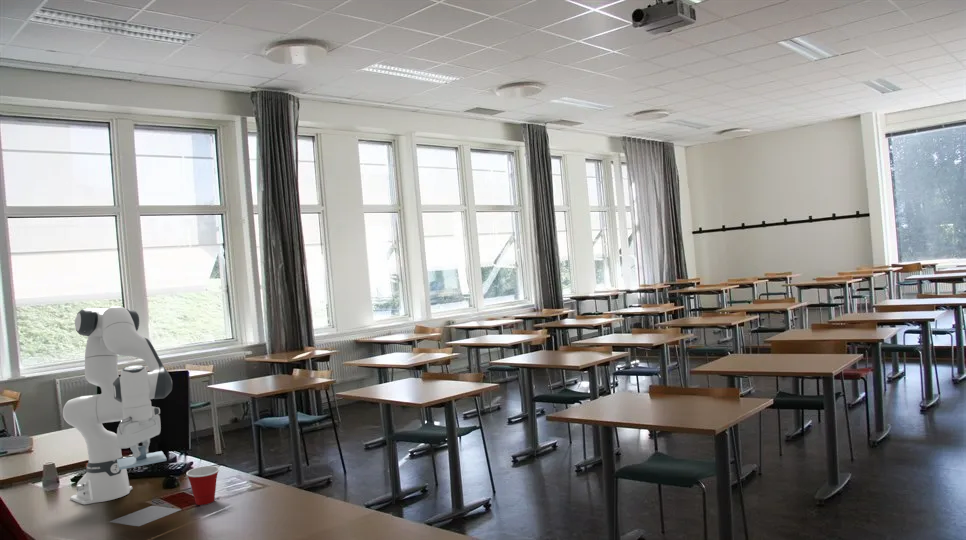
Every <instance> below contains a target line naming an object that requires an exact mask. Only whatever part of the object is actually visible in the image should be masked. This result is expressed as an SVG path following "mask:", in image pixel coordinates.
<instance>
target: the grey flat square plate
mask: <svg viewBox="0 0 966 540" xmlns="http://www.w3.org/2000/svg"><path fill="white" fill-rule="evenodd" d="M179 511H182V509H181V508H174V507H165V506H157V505H151V506H147V507H145V508H141V509H139V510H136V511H134V512H132V513H128V514H126V515H123V516H121V517H117V518H115V519H112V520H110V521H108V523H114V524H119V525H127V526H132V527H137V528H138V527H141V526H144V525H146V524H149V523H152V522H155V521H156V520H159V519H161V518H164V517H167V516H170V515H172V514H175V513H176V512H179Z"/></svg>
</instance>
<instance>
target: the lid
mask: <svg viewBox="0 0 966 540" xmlns="http://www.w3.org/2000/svg"><path fill="white" fill-rule="evenodd" d="M138 450H139V451H141V456H139V457H137V458H134V457H133V455H132V456H129V457H123V458H122V459H117V463H118V467H119V470H122V469H126V470H128V469H131V468H137V467H141V466H147V465H151V464H152V465H153V464H156V463H162V462H167V457H166V455H165V454H164V452H163V451H162V450H160V451H155V452H148V453H146V446H143V445H138Z"/></svg>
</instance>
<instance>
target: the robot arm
mask: <svg viewBox="0 0 966 540" xmlns="http://www.w3.org/2000/svg"><path fill="white" fill-rule="evenodd" d="M74 327H75V330H76V332H77V333H78V334H79V335H81V336H83V337H84V336H85V337H87V340H86V345H85V350H84V351H85V352H84V378H85V380H86V382H88V383H89V384H91V385H94V386H95V387H99V388H100V391H101V393H100V394H99V393H98V394H91V395H81V396H77V397H74V398H72V399H69V400H67V401H66V402H65V404H64V406H63V408H62V417H63V419H64V421H65V422H66V423H67V424H68V425H69V426H72V427H73V428H74V429H76V430H77V431H78V432H79V434H80V435H81V436H82V437H83V439H84V441H85V444H86V450H87V458H88V462H87V463H85V467H86V473H84V474H83V476H82V477H81V478H80V479H79V480H78V481H77V483H76V487H75V488H76V489H75V490H76V494H73V495H71V496H70V501H73V502H76V503H78V504H82V505H90V504H95V503H101V502H103V503H104V502H107V501H108V502H109V501H112V500H115V499H118V498H122V497H124V496H126V495H129V494H130V492H131V491H132V490H133V486H132V485H130V481H129V476H128V471H127V470H128V469H122V470H119V467H118V463H117V459H122V458H124V456H123V455H122V449H129V448H130V450H131V452H132V456H133V457H134V458H137V457H139V456H141V451H139V450H138V447H139V444H140V443H141V444H142V446H146V454H148V453H150V452H149V446H150V443H151V439H152V438H154V437H156V436H159V435H160V434H161V432H162V431H161V429H162V427H161V426H162V425H161V423H162V422H161V415H160V414H161V409H160V407H158V406H157V407H156V406H152V401H151V400H153V399H154V400H159V399H165V398H166V397H168V395H169V394H170V393H171V392H172V390H173V380H172V377H171V375H170V373H169V371H168V370H167V369H166V367H165V366H164V365H163V362H162V361H161V359H160V356H159V354H158V353H157V351H156V349H155V347H154V346H153V344H152V342H151V341H150V340H149V339H148V338H146V337H144V336H142V335H141V334H140V333H139V332H138V330H139V327H140V316H139V313H138V312H137V311H135V310H133V309H128V308H126V307H123V306H121V305H120V306H119V305H115V306H114V305H113V306H110V307H107V308H106V307H105V308H103V307H99V308H90V307H89V308H87V307H86V308H83V309H80V310H79V311H78V312H77V314H76V316H75V319H74ZM118 356H122V357H123V356H125V357H126V356H127V357H133V358H139V359H141V360H143V361H144V362H145V365H146V366H147V368H148V369H147V368H146V366H144V365H138V364H137V365H135V364H134V365H128V366H126V367H123V368H122V369H121V371H120V376H119V367H118ZM114 422H119V424H118V427H117V429H116V433H115V432H114V431H111V430H107V429H106V428H105V427H104V425H103V424H105V423H106V424H107V423H114Z"/></svg>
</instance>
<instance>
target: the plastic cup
mask: <svg viewBox="0 0 966 540" xmlns="http://www.w3.org/2000/svg"><path fill="white" fill-rule="evenodd" d="M219 471H220V467H219V466H215V465H206V466H198V467H195V468H192V469H189V470H187V471H186V476H187V477H188V480H189V483H190V487H191V492H192V494H193V498H194V501H195V504H196V505H197V506H203V505H204V506H206V505H209V504H211V503H214V502H215V499H216V487H217V478H218V473H219Z"/></svg>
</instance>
